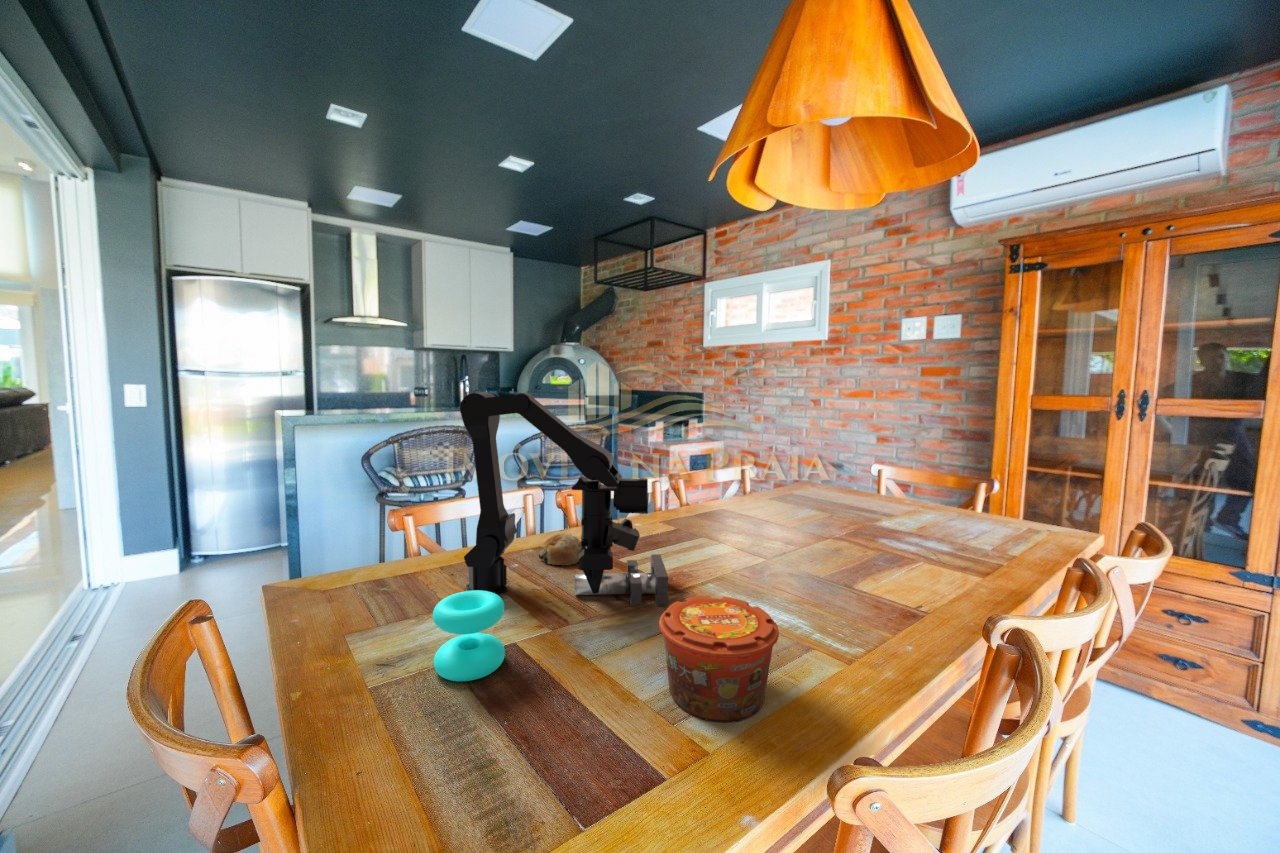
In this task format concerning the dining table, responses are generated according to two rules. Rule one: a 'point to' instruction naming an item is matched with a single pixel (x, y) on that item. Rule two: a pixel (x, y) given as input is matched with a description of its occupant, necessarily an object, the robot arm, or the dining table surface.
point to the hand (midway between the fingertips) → (595, 588)
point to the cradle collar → (634, 584)
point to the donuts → (469, 635)
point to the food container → (718, 656)
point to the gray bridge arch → (660, 580)
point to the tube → (616, 583)
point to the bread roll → (561, 550)
